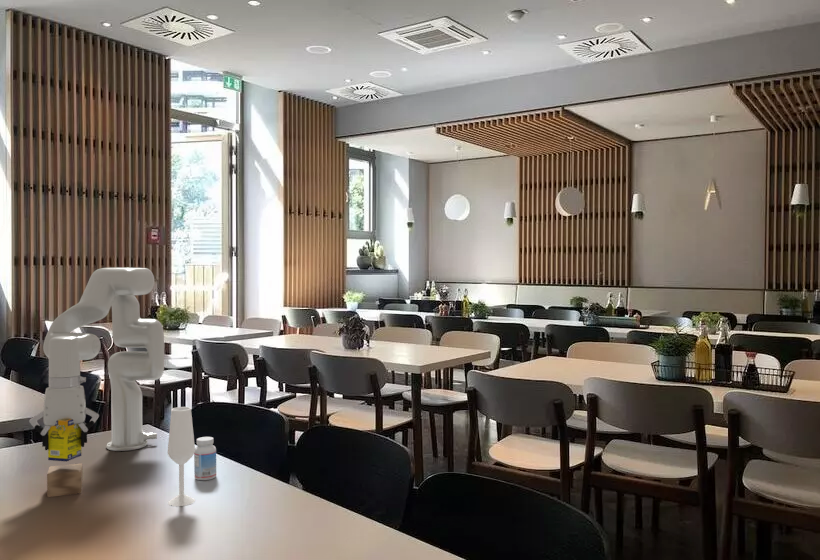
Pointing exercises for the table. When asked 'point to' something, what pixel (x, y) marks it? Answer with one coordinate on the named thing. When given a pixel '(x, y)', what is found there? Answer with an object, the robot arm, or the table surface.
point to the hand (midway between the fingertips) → (65, 447)
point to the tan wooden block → (64, 480)
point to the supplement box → (64, 441)
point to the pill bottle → (205, 459)
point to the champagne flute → (181, 448)
